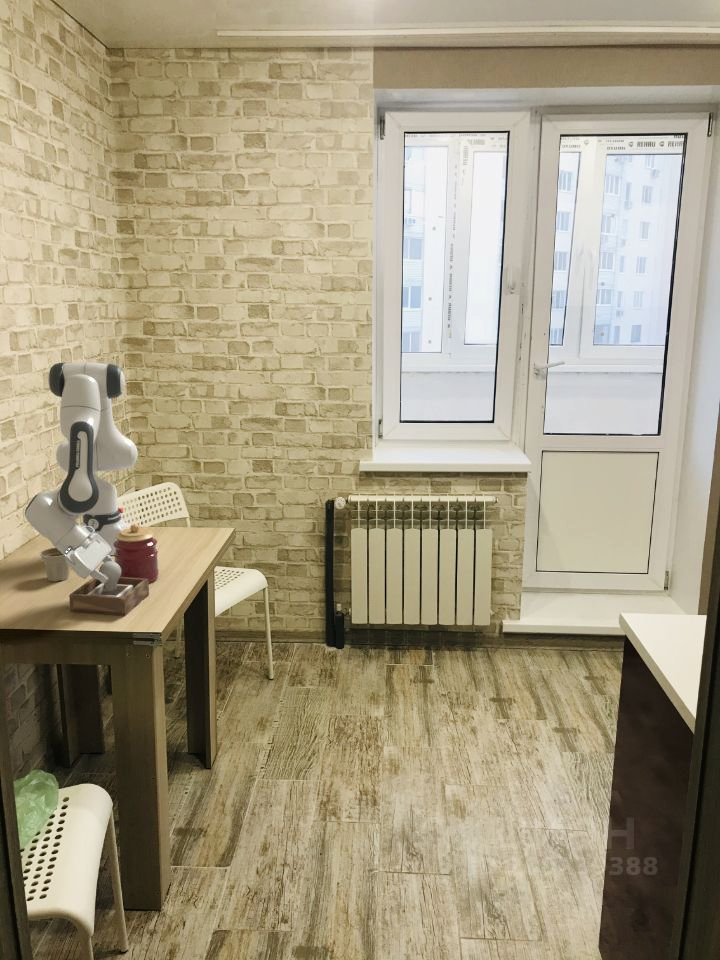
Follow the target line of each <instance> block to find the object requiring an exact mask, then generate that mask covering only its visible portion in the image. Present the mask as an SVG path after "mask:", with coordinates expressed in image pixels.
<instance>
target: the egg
mask: <svg viewBox="0 0 720 960" xmlns="http://www.w3.org/2000/svg"><path fill="white" fill-rule="evenodd" d="M113 561H114V560H113ZM113 561H108V562H105V563H104V562H103V563H102V564H101V565H100V566H99V568H98V570H99V572H100V573H102V574H103V575H104V574H105V575H106V576H108V577H109V579H108V580H107V581H106V582H105V583H104V585H105V590H106V594H107V595H115V596H116V589H117V582H118V580H119V578H120V576H121V568H120V566H119V565H118V564H117V563H116V562H115V561H114V562H113Z"/></svg>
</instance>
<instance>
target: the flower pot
mask: <svg viewBox="0 0 720 960" xmlns="http://www.w3.org/2000/svg"><path fill="white" fill-rule="evenodd" d="M39 556H41V559H42V562H43V564H44V568H45V572H46V577H47V580H48V581H49V582H59V581H65V580H68V579H69V578H70V572H71V571H70V569H71V568H70V566H69V565H68V564H67V562H66V559H65V556H64V555H63V554H62V553H61V552H60V551H59V550H58V549H57V548H56V547H50V548H45V549H43V550H41V551H40V552H39Z"/></svg>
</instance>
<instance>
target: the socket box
mask: <svg viewBox="0 0 720 960" xmlns="http://www.w3.org/2000/svg"><path fill="white" fill-rule="evenodd" d="M149 584H150V583H149V582H148V579H144V578H129V577H120V578H119V580H118V582H117V589H116V596H115V595H107V594H106V590H105V585H104V584H103V583H102V582H101V581H99V580H97V579H95V578H93V577H91V578H90V579H89V580H87V582H85V583H83V584H82V585H81V586H79V587H78V588H76V589H75V590H74V591H72V592H71V593H70V594H69V595H68V596H69V597H68V598H69V612H70V613H80V614H81V613H83V614H93V615H94V614H95V615H107V616H119V617H120V616H121V617H127V615H129V613H130V612H132V611H133V610H134V609H135V608H136V607H137V606H138V605H139V604H141V603H142V602H143V601H144V600H145V599H146V598H148V596H150V588H149ZM142 600H143V601H142ZM141 601H142V602H141ZM140 602H141V603H140Z"/></svg>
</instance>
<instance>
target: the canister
mask: <svg viewBox="0 0 720 960" xmlns="http://www.w3.org/2000/svg"><path fill="white" fill-rule="evenodd" d="M154 536H155V533H154V532H153V531H151V530H149V528H146V527H140V526H139V525H138V524H136V523H134V524H133V523H132V524H131V525H130V529H125V530H123V531H121V532H120V533H119V534H117V535H116V539H117V541H115V542H114V544H113V545H114V547H115V553H114V555H113V557H114V562H116V563H117V564H118V565H119V566H120V568H121V576H120V577H129V578H144V579H148V582H149V584H151V583H153V582H156V580H158V578H159V574H160V573H159V572H160V570H159V566H158V565H159V563H158V561H159V560H158V553H159V551H158V549H157V547H156V546H157V544H158V540H157V539H156V538H155V537H154Z"/></svg>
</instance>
